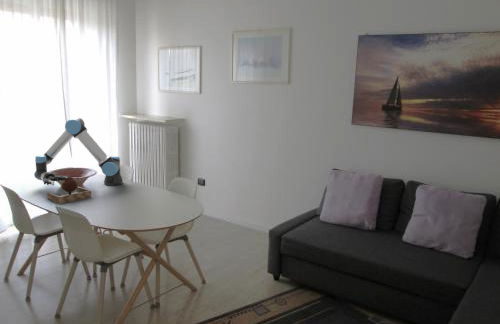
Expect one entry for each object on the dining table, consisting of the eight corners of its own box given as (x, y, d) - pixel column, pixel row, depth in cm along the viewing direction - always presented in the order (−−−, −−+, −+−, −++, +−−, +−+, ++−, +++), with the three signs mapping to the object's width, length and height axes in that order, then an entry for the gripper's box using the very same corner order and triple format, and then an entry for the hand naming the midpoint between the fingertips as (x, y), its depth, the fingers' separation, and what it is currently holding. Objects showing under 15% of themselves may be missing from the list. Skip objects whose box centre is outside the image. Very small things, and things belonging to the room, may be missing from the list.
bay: (78, 192, 314) (78, 186, 313) (91, 197, 304) (90, 190, 303) (47, 199, 295) (47, 192, 294) (59, 204, 285) (59, 197, 284)
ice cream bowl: (58, 197, 297) (57, 177, 294) (71, 194, 307) (70, 175, 304) (68, 200, 292) (67, 179, 290) (81, 196, 302) (80, 176, 299)
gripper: (64, 179, 325) (78, 183, 313) (32, 185, 306) (46, 190, 293) (63, 170, 324) (78, 174, 311) (31, 175, 304) (45, 180, 292)
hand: (62, 182), depth 302 cm, fingers open, 13 cm apart
